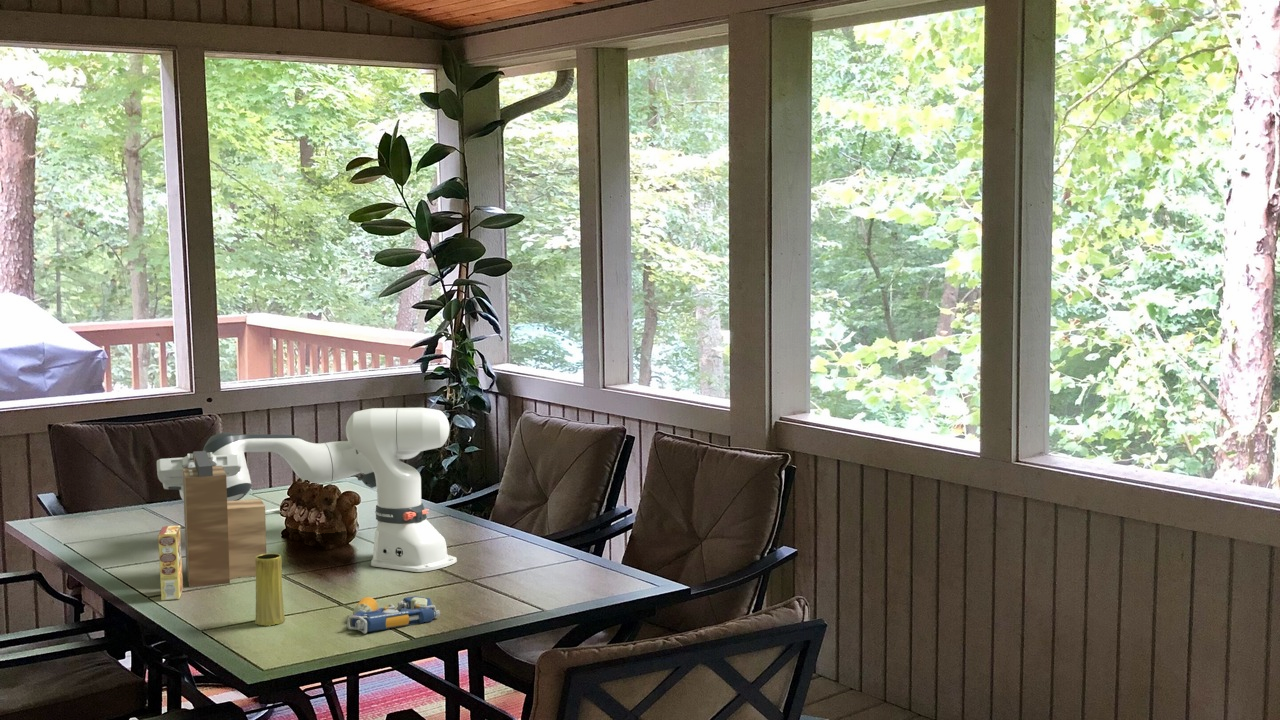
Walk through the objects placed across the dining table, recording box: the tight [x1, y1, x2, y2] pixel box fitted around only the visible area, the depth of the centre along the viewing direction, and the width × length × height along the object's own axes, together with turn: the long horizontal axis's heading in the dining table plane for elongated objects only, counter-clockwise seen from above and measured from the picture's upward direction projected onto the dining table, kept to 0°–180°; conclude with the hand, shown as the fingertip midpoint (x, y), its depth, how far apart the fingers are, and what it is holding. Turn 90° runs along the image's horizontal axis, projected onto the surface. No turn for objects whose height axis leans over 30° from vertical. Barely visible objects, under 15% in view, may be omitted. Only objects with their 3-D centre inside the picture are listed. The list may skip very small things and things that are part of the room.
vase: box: [254, 552, 286, 627], centre depth 258 cm, size 6×6×14 cm
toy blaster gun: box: [346, 595, 441, 635], centre depth 260 cm, size 21×4×15 cm
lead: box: [192, 450, 213, 477], centre depth 296 cm, size 24×3×2 cm, turn 23°
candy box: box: [157, 525, 184, 601], centre depth 278 cm, size 9×4×15 cm, turn 16°
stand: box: [183, 466, 268, 588], centre depth 295 cm, size 14×18×26 cm
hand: (200, 455), depth 305 cm, fingers closed on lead, 3 cm apart
